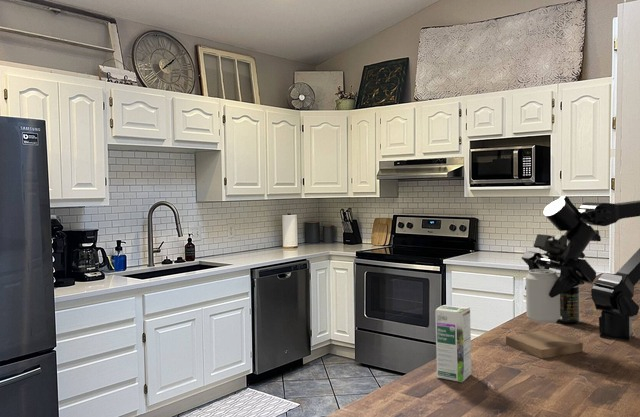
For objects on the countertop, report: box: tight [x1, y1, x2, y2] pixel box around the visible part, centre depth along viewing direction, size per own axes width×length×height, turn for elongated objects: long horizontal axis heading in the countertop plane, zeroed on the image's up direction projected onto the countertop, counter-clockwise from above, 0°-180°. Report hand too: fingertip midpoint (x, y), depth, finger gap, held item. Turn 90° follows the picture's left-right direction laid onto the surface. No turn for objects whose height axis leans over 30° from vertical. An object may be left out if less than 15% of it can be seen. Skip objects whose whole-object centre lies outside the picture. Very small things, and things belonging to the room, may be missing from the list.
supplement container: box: [555, 285, 581, 326], centre depth 149 cm, size 7×7×10 cm
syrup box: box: [434, 304, 472, 383], centre depth 110 cm, size 6×6×14 cm
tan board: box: [505, 329, 584, 360], centre depth 127 cm, size 12×12×2 cm
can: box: [525, 268, 560, 324], centre depth 126 cm, size 8×8×12 cm
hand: (538, 293), depth 126 cm, fingers closed on can, 7 cm apart
